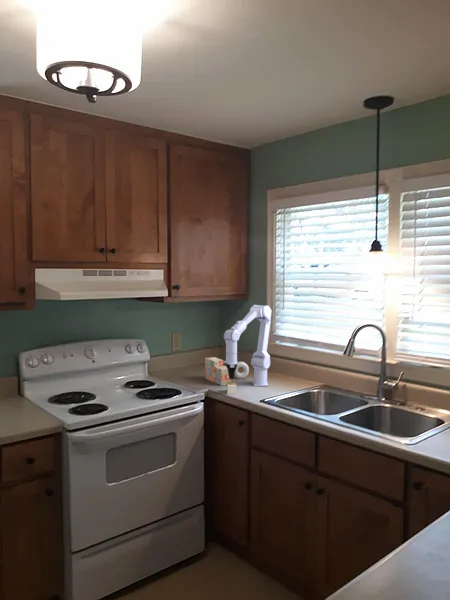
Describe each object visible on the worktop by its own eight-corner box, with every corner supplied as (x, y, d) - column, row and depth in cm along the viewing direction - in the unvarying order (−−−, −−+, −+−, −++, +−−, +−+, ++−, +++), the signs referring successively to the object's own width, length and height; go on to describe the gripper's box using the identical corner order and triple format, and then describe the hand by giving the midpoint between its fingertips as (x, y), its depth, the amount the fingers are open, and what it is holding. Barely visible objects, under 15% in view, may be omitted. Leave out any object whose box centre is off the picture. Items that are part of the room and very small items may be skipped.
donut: (232, 379, 295) (232, 362, 294) (231, 378, 298) (231, 361, 297) (249, 378, 297) (249, 361, 296) (248, 377, 300) (248, 360, 299)
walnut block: (226, 382, 269) (227, 385, 262) (235, 381, 270) (236, 385, 262) (226, 390, 270) (227, 394, 262) (235, 390, 270) (236, 394, 262)
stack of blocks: (231, 385, 282) (231, 363, 281) (221, 386, 279) (221, 364, 278) (214, 377, 301) (214, 356, 300) (204, 378, 298) (204, 357, 297)
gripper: (223, 350, 273) (223, 375, 274) (224, 355, 258) (224, 381, 259) (236, 350, 273) (236, 375, 274) (238, 355, 259) (238, 381, 260)
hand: (231, 378), depth 267 cm, fingers closed
